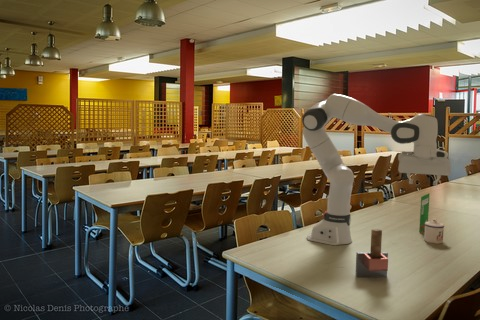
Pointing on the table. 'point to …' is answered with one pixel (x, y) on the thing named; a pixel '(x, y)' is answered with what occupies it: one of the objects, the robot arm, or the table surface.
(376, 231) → the brown cylinder
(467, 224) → the table surface
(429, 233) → the teacup with lid
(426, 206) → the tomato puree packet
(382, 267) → the drawer
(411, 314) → the table surface
